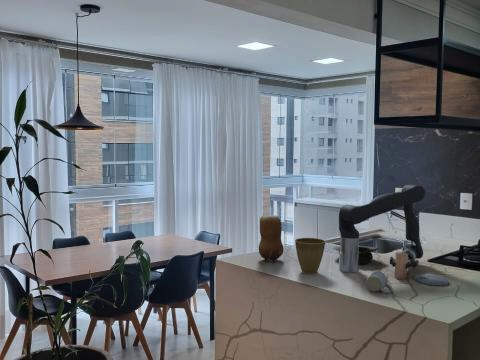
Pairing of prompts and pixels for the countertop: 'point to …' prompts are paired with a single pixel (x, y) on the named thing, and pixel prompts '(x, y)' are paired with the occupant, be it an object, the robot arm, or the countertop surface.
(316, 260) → the plant pot
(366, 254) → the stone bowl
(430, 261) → the countertop surface
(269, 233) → the butternut squash
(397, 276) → the canister
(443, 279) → the slate dish
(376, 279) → the ceramic mug
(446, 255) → the countertop surface
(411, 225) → the robot arm
